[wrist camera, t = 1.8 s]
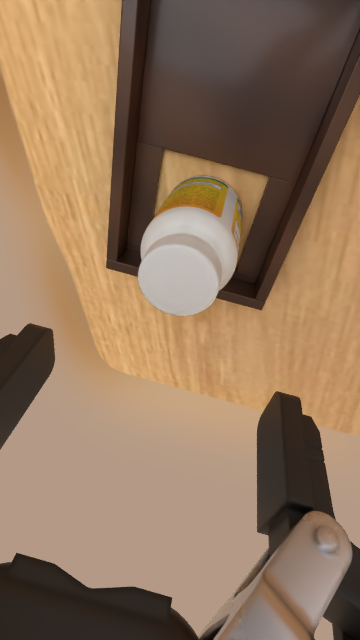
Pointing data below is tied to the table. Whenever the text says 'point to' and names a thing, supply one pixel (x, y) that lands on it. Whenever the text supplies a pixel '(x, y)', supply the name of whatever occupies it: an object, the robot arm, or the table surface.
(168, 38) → the tray
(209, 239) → the supplement bottle
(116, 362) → the table surface
